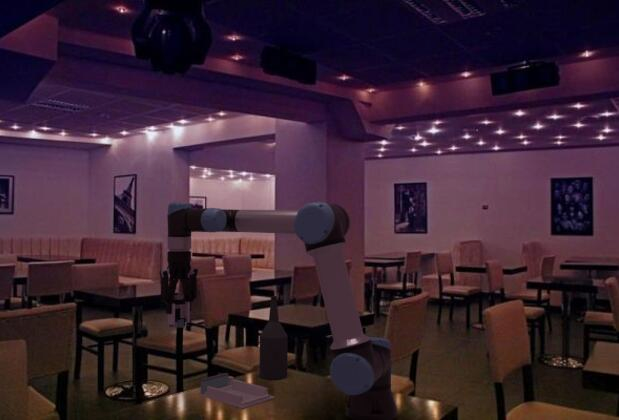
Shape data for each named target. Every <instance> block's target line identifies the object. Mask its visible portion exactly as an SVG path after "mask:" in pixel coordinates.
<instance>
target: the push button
mask: <svg viewBox="0 0 619 420" xmlns="http://www.w3.org/2000/svg"><path fill="white" fill-rule="evenodd" d="M185 300H186V298H184V294H183V295H181V294H180V295H179V294H176V295H174V300H173V304H175V324H174V325H172V324H168V326H169V328H185V327H188V326H190V325H191V324H190V322H191V321H190V322H186V319H185V318H184V316H183V304H185ZM188 324H189V325H188Z"/></svg>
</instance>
